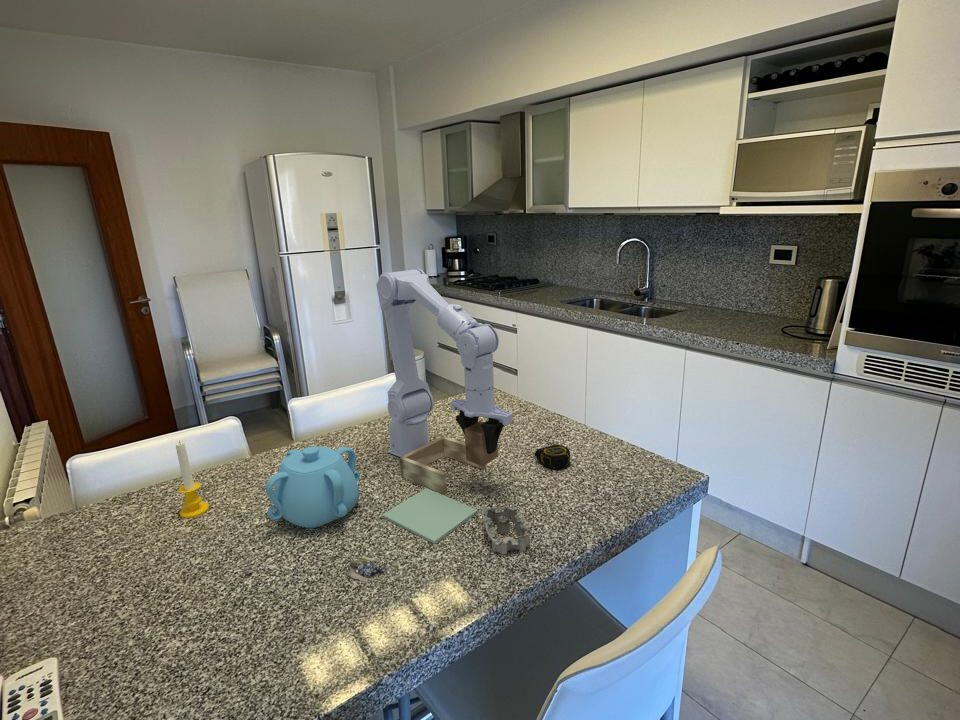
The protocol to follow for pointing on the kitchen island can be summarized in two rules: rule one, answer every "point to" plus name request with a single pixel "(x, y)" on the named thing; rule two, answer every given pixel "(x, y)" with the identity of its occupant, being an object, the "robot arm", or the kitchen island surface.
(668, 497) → the kitchen island surface
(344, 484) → the decorative pot
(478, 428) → the walnut block
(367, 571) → the blueberries
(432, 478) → the open-side box
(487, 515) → the egg carton
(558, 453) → the tape measure
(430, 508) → the sage mat
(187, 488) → the candle
